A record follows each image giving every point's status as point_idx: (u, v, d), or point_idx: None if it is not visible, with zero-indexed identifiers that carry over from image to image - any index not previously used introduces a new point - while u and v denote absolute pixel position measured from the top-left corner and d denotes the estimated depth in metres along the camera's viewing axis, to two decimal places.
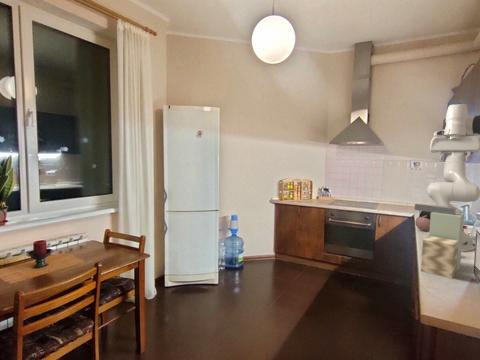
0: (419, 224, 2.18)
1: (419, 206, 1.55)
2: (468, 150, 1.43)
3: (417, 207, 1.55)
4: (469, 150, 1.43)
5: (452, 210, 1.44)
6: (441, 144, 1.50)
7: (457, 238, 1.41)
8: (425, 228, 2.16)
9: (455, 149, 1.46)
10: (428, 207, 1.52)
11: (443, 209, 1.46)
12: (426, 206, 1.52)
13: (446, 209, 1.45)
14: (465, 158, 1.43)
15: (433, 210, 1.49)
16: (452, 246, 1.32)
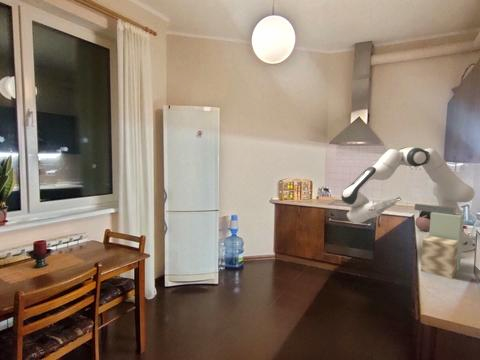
0: (419, 224, 2.18)
1: (419, 206, 1.55)
2: (387, 206, 1.61)
3: (417, 207, 1.55)
4: (386, 206, 1.61)
5: (452, 210, 1.44)
6: (388, 206, 1.71)
7: (457, 238, 1.41)
8: (425, 228, 2.16)
9: (389, 205, 1.65)
10: (428, 207, 1.52)
11: (443, 209, 1.46)
12: (426, 206, 1.52)
13: (446, 209, 1.45)
14: (394, 202, 1.59)
15: (433, 210, 1.49)
16: (452, 246, 1.32)
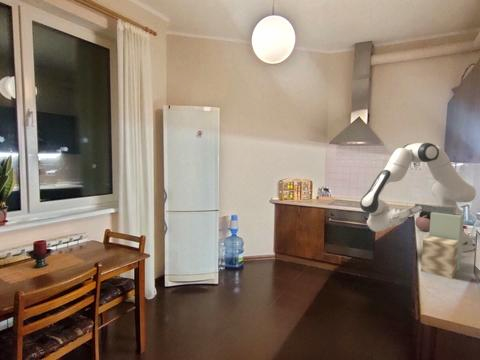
0: (419, 224, 2.18)
1: None
2: (411, 213, 1.53)
3: None
4: (411, 214, 1.53)
5: (452, 210, 1.44)
6: None
7: (457, 238, 1.41)
8: (425, 228, 2.16)
9: (413, 213, 1.57)
10: (428, 207, 1.52)
11: (443, 209, 1.46)
12: (426, 206, 1.52)
13: (446, 209, 1.45)
14: None
15: (433, 210, 1.49)
16: (452, 246, 1.32)
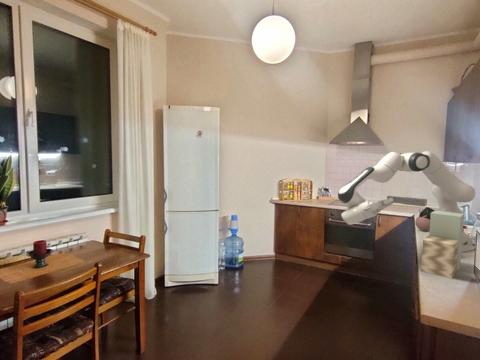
0: (419, 224, 2.18)
1: None
2: (383, 205, 1.51)
3: None
4: (383, 205, 1.51)
5: (422, 201, 1.42)
6: (385, 206, 1.61)
7: (457, 238, 1.41)
8: (425, 228, 2.16)
9: (386, 205, 1.55)
10: (400, 199, 1.50)
11: (414, 201, 1.44)
12: (398, 198, 1.50)
13: (417, 200, 1.44)
14: None
15: (404, 202, 1.47)
16: (452, 246, 1.32)
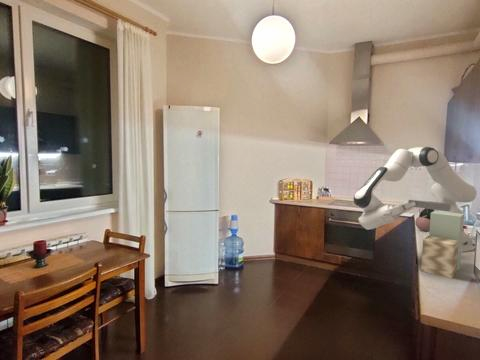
0: (419, 224, 2.18)
1: None
2: (405, 210, 1.44)
3: None
4: (404, 210, 1.44)
5: (447, 206, 1.35)
6: None
7: (457, 238, 1.41)
8: (425, 228, 2.16)
9: (407, 210, 1.48)
10: (422, 203, 1.43)
11: (438, 205, 1.37)
12: (420, 202, 1.43)
13: (441, 205, 1.36)
14: (414, 205, 1.45)
15: (427, 206, 1.40)
16: (452, 246, 1.32)
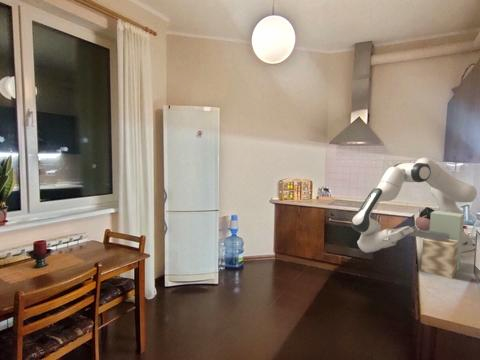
0: (419, 224, 2.18)
1: None
2: (403, 236, 1.45)
3: None
4: (403, 236, 1.45)
5: (445, 237, 1.36)
6: None
7: (457, 238, 1.41)
8: (425, 228, 2.16)
9: None
10: (420, 232, 1.44)
11: (436, 236, 1.38)
12: (418, 231, 1.45)
13: (439, 236, 1.38)
14: (412, 231, 1.45)
15: (425, 236, 1.41)
16: (452, 246, 1.32)
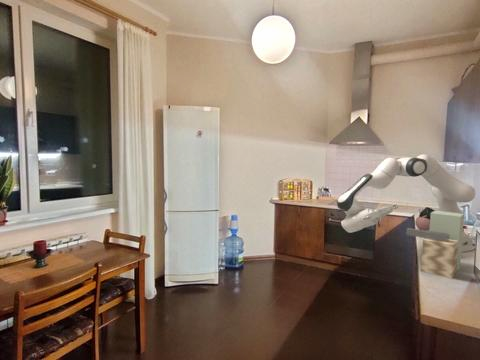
0: (419, 224, 2.18)
1: (411, 231, 1.47)
2: (383, 214, 1.51)
3: (409, 232, 1.47)
4: (382, 214, 1.51)
5: (445, 237, 1.36)
6: None
7: (457, 238, 1.41)
8: (425, 228, 2.16)
9: (385, 214, 1.55)
10: (420, 232, 1.44)
11: (436, 236, 1.38)
12: (418, 231, 1.45)
13: (439, 236, 1.38)
14: (390, 210, 1.50)
15: (425, 236, 1.41)
16: (452, 246, 1.32)
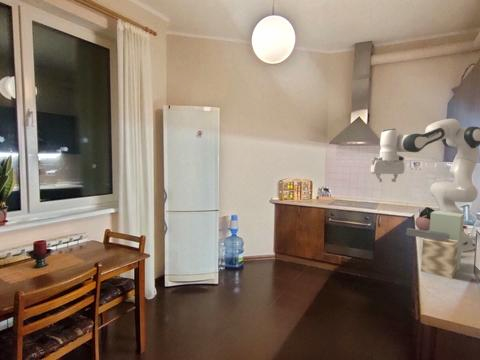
0: (419, 224, 2.18)
1: (411, 231, 1.47)
2: None
3: (409, 232, 1.47)
4: None
5: (445, 237, 1.36)
6: None
7: (457, 238, 1.41)
8: (425, 228, 2.16)
9: None
10: (420, 232, 1.44)
11: (436, 236, 1.38)
12: (418, 231, 1.45)
13: (439, 236, 1.38)
14: None
15: (425, 236, 1.41)
16: (452, 246, 1.32)
